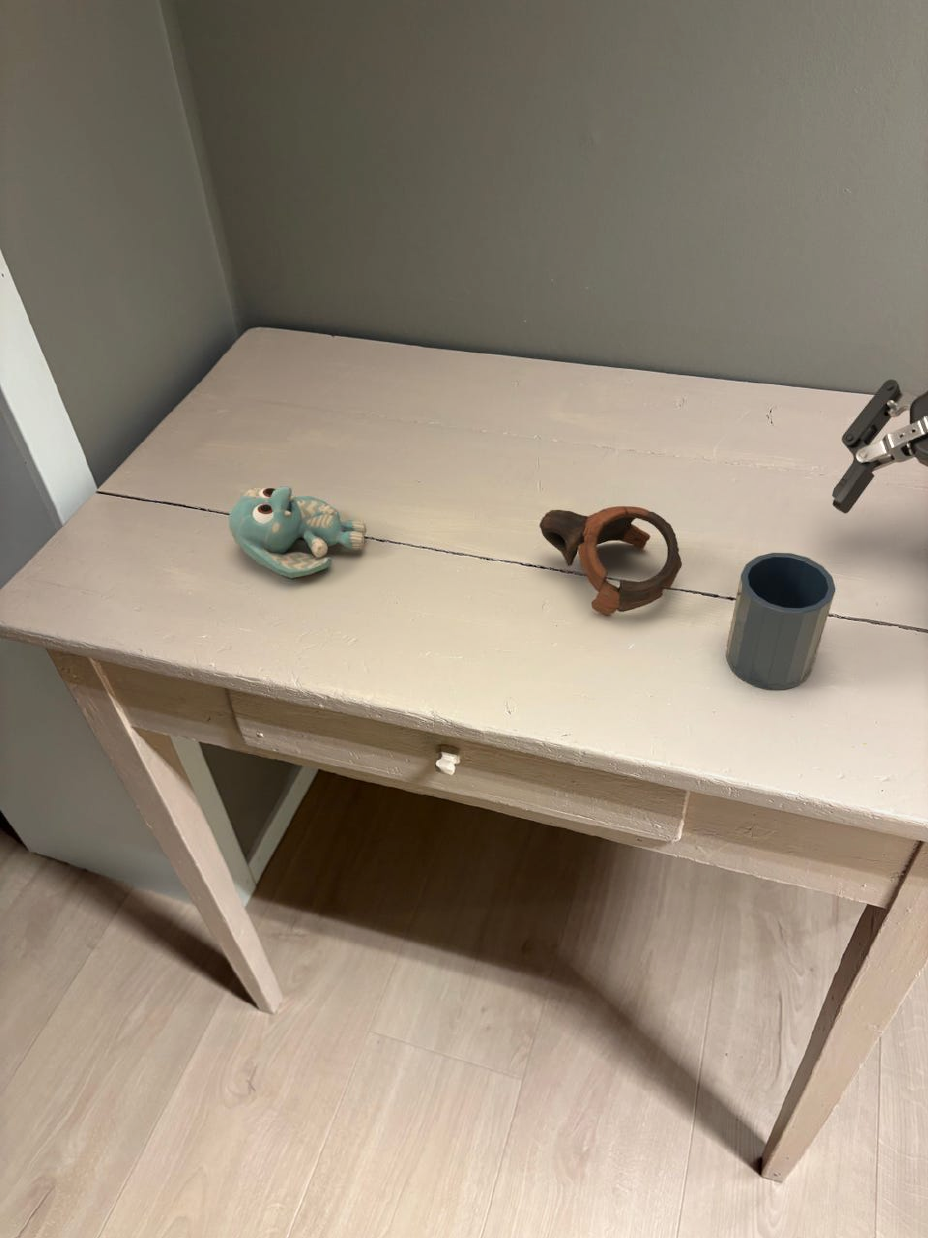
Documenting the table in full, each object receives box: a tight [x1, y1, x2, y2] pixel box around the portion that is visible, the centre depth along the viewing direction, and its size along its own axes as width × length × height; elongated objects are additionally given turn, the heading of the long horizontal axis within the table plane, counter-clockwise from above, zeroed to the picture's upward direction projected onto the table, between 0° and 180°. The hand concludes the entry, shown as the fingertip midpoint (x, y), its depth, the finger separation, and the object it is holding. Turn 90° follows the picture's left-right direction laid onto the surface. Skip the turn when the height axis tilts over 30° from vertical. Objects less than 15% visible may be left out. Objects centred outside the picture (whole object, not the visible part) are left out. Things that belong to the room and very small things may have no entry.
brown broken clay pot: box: [539, 505, 683, 616], centre depth 79 cm, size 12×10×8 cm
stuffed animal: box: [228, 485, 367, 579], centre depth 84 cm, size 11×7×12 cm
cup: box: [725, 552, 836, 691], centre depth 71 cm, size 6×6×8 cm
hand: (884, 535), depth 74 cm, fingers open, 8 cm apart
